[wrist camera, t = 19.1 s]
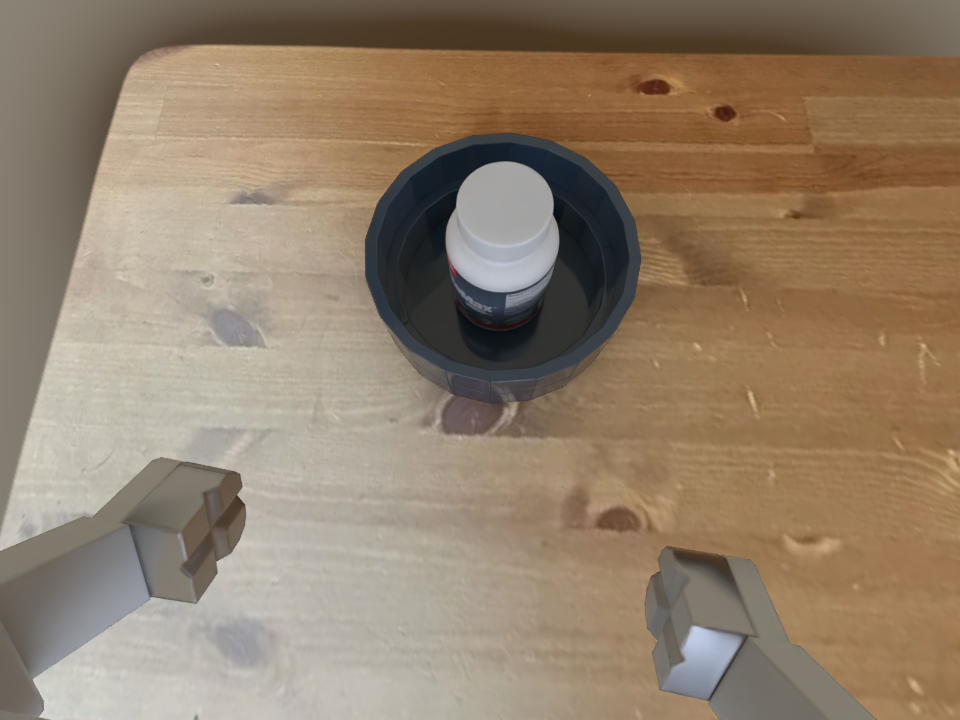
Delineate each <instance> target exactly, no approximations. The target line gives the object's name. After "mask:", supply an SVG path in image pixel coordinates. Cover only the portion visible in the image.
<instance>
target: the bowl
mask: <svg viewBox="0 0 960 720" xmlns="http://www.w3.org/2000/svg"><path fill="white" fill-rule="evenodd" d="M504 161H506V162H516V163H520V164H523V165H526V166H528V167H530V168H532V169H533V170H535V171H536V172H537V173H539V174H540V175H541V176H542V177H543V178H544V180H545V181H546V182H547V184H548V186H549V187H550V189H551V192H552V196H553V203H554V208H553V216H554V218H555V220H556V222H557V226H558V231H559V249H558V255H557V258H556V262H555V265H554V269H553V273H552V276H551V279H550V283H549V286H548V289H547V293H546V296H545V299H544V302H543V304H542V306H541V308H540V310H539V311H538V313H537V314H536V315H535V316H534V317H533V318H532V319H531V320H530V321H529V322H527V323H526V324H524V325H522V326H520V327H518V328H516V329H512V330H508V331H492V330H487V329H484V328H481V327H479V326H477V325H475V324H473V323H472V322H471V321H469V320H468V319H467V318H466V317H465V316H464V315H463V314H462V312H461V311H460V309H459V308H458V306H457V304H456V301H455V298H454V294H453V288H452V281H451V275H450V269H449V262H448V257H447V251H446V229H447V225H448V222H449V219H450V217H451V215H452V213H453V211H454V210H455V208H456V202H457V195H458V192H459V189H460V187H461V185H462V184H463V182H464V181H465V179H466V178H467V177H468V176H469V175H470V174H471V173H473V172H474V171H475V170H477V169H478V168H481V167H482V166H484V165H487V164H490V163H495V162H504ZM640 264H641V253H640V247H639V241H638V236H637V230H636V224H635V220H634V218H633V216H632V214H631V212H630V210H629V209H628V207H627V205H626V203H625V201H624V200H623V198H622V196H621V194H620V192H619V191H618V189H617V187H616V186H615V184H614V183H613V182H611V181H610V180H609V179H608V178H607V177H606V176H605V175H604V174H603V173H602V172H601V171H600V170H599V169H598V168H597V167H596V166H594V165H593V164H592V163H591V162H590V161H589V160H588V159H586V158H585V157H583V156H581V155H579V154H577V153H575V152H573V151H571V150H569V149H567V148H565V147H563V146H561V145H559V144H557V143H555V142H553V141H550V140H546V139H541V138H536V137H531V136H525V135H520V134H515V133H500V134H485V135H472V136H469V137H466V138H463V139H460V140H457V141H454V142H452V143H449V144H446V145H443V146H440V147H437V148H435V149H433V150H431V151H430V152H428V153H427V154H425V155H424V156H423V157H421V158H420V159H418V160H417V161H416V162H414V163H413V164H411V165H410V166H408V167H407V168H406V169H404V170H403V171H402V172H401V173H400V174H399V175H398V177H397V178H396V179H395V181H394V182H393V183H392V184H391V186H390V187H389V188H388V190H387V191H386V192H385V194H384V195H383V196H382V197H381V199H380V200H379V202H378V204H377V206H376V209H375V212H374V215H373V218H372V221H371V224H370V227H369V229H368V232H367V235H366V239H365V277H366V281H367V284H368V287H369V289H370V292H371V295H372V297H373V300H374V303H375V305H376V308H377V311H378V314H379V316H380V318H381V319H382V321H383V323H384V325H385V326H386V328H387V330H388V332H389V333H390V335H391V337H392V339H393V340H394V342H395V344H396V346H397V347H398V349H399V350H400V351H401V352H402V353H403V355H404V356H405V357H406V358H407V359H408V361H409V362H410V363H411V364H412V365H413V367H414V368H415V369H416V370H417V371H418V373H419V374H421V375H422V376H423V377H425V378H426V379H428V380H430V381H431V382H433V383H435V384H436V385H438V386H439V387H441V388H443V389H444V390H446V391H448V392H449V393H451V394H453V395H457V396H461V397H465V398H469V399H473V400H478V401H482V402H486V403H505V402H519V401H528V400H529V401H530V400H533V399H535V398H538V397H540V396H542V395H545V394H547V393H550V392H552V391H555V390H557V389H560V388H562V387H564V386H565V385H567V384H568V383H569V382H571V381H572V380H573V379H574V378H575V377H576V376H578V375H579V374H580V373H581V372H582V371H584V370H585V369H586V368H587V367H588V366H589V365H591V364H592V363H593V361H594V360H595V359H596V358H597V356H598V355H599V353H600V352H601V351H602V349H603V348H604V346H605V345H606V344H607V342H608V341H609V339H610V338H611V337H612V335H613V334H614V332H615V331H616V329H617V327H618V326H619V324H620V322H621V320H622V319H623V317H624V315H625V314H626V312H627V310H628V308H629V307H630V305H631V303H632V302H633V300H634V297H635V292H636V286H637V281H638V275H639V270H640Z"/></svg>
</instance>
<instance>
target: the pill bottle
mask: <svg viewBox="0 0 960 720" xmlns="http://www.w3.org/2000/svg"><path fill="white" fill-rule="evenodd" d="M553 208H554V203H553V196H552V192H551V189H550V187H549V186H548V184H547V182H546V181H545V180H544V178H543V177H542V176H541V175H540V174H539V173H537V172H536V171H535V170H533V169H532V168H530V167H528V166H526V165H523V164H520V163H516V162H506V161H504V162H495V163H490V164H487V165H484V166H482V167H481V168H478V169H477V170H475V171H474V172H473V173H471V174H470V175H469V176H468V177H467V178H466V179H465V181H464V182H463V184H462V185H461V187H460V189H459V192H458V195H457V202H456V208H455V210H454V211H453V213H452V215H451V217H450V219H449V222H448V225H447V229H446V251H447V257H448V262H449V269H450V275H451V281H452V288H453V294H454V298H455V301H456V304H457V306H458V308H459V309H460V311H461V312H462V314H463V315H464V316H465V317H466V318H467V319H468V320H469V321H471V322H472V323H473V324H475V325H477V326H479V327H481V328H484V329H487V330H492V331H508V330H512V329H516V328H518V327H520V326H522V325H524V324H526V323H527V322H529V321H530V320H531V319H532V318H533V317H534V316H535V315H536V314H537V313H538V311H539V310H540V308H541V306H542V304H543V302H544V299H545V296H546V293H547V289H548V286H549V283H550V279H551V276H552V273H553V269H554V265H555V262H556V258H557V255H558V249H559V231H558V226H557V222H556V220H555V218H554V216H553Z"/></svg>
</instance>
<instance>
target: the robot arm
mask: <svg viewBox="0 0 960 720" xmlns="http://www.w3.org/2000/svg"><path fill="white" fill-rule="evenodd" d="M242 487H243V486H242V481H241V476H240V474H239V473H237V472H235V471H230V470H226V469H221V468H216V467H211V466H206V465H201V464H196V463H191V462H183V461H178V460H173V459H168V458H163V457H161V458H158V459H155V460H153V461H151V462H150V463H149V464H148V465H147V466H146V467H145V468H144V469H143V470H142V471H141V472H140V473H139V474H138V475H136V476H135V477H134V478H133V479H132V480H131V481H130V482H129V483H128V484H127V485H126V486H125V487H124V488H123V489H122V490H120V491H119V492H118V493H117V494H116V495H115V496H114V497H113V498H112V499H111V500H110V501H109V502H108V503H107V504H106V505H104V506H103V507H102V508H101V509H100V510H99V511H98V512H97V513H96V514H95V515H94V516H93V517H92V518H91V517H84V516H83V517H81V518H78V519H76V520H74V521H71V522H69V523H66V524H64V525H62V526H59V527H57V528H54V529H52V530H50V531H47V532H45V533H42V534H40V535H38V536H35V537H33V538H30V539H28V540H26V541H23V542H21V543H18V544H16V545H14V546H11V547H9V548H7V549H4V550H2V551H0V720H49V719H44V718H39V716H40V715H41V713H42V712H43V711H44V701H43V699H42V697H41V695H40V693H39V691H38V689H37V688H36V686H35V684H34V682H33V680H32V679H34V678H35V677H37V676H38V675H40V674H41V673H43V672H44V671H45V670H47V669H48V668H50V667H51V666H53V665H54V664H56V663H57V662H59V661H60V660H62V659H63V658H65V657H66V656H68V655H69V654H71V653H72V652H74V651H75V650H76V649H78V648H79V647H81V646H82V645H84V644H85V643H87V642H88V641H90V640H91V639H93V638H94V637H96V636H97V635H99V634H100V633H102V632H103V631H105V630H106V629H107V628H109V627H110V626H112V625H113V624H115V623H116V622H118V621H119V620H121V619H122V618H124V617H125V616H127V615H128V614H130V613H131V612H133V611H134V610H136V609H137V608H138V607H140V606H141V605H143V604H144V603H146V602H147V601H149V600H150V597H156V598H162V599H169V600H175V601H181V602H188V603H194V604H197V602H198V601H199V600H200V598H201V597H202V595H203V594H204V592H205V591H206V589H207V588H208V586H209V585H210V583H211V582H212V581H213V579H214V578H215V576H216V575H217V573H218V571H217V561H218V560H220V559H222V558H224V557H225V556H227V555H229V554H231V553H232V551H233V549H234V548H235V546H236V545H237V543H238V542H239V540H240V537H241V535H242V532H243V529H244V527H245V520H246V508H245V504H244V503H243V502H242V500H241V499H240V498H239V497H238V496H237V494H238V493H239V491H240V490H241V489H242ZM658 563H659V567H660V571H659V572H657V573H656V574H654V575H652V576H651V578H650V581H649V583H648V586H647V589H646V597H645V616H646V622H647V628H648V630H649V631H650V632H651V634H652V635H653V636H654V637H655V638H656V640H657V643H656V645H655V647H654V649H653V651H652V655H653V660H654V665H655V671H656V676H657V681H658V686H659V690H661V691H665V692H670V693H675V694H679V695H684V696H689V697H693V698H698V699H703V700H707V701H709V703H708V704H709V705H710V707H711V708H712V710H713V711H714V713H715V714H716V715H717V717H718V718H719V720H877V719H876V718H875V717H874V716H873V715H871V714H870V713H869V712H868V711H867V710H866V709H865V708H864V707H863V706H862V705H861V704H860V703H859V702H858V701H857V700H856V699H855V698H854V697H853V696H852V695H851V694H850V693H848V692H847V691H846V690H845V689H844V688H843V687H842V686H841V685H840V684H839V683H838V682H837V681H836V680H835V679H834V678H833V677H832V676H831V675H830V674H829V673H828V672H827V671H825V670H824V669H823V668H822V667H821V666H820V665H819V664H818V663H817V662H816V661H815V660H814V659H813V658H812V657H811V656H810V655H809V654H808V653H807V652H806V651H805V650H804V649H803V648H801V647H800V646H799V645H794V644H790V642H789V639H788V637H787V635H786V633H785V630H784V628H783V626H782V624H781V621H780V619H779V617H778V615H777V612H776V610H775V608H774V606H773V603H772V601H771V599H770V597H769V594H768V592H767V590H766V588H765V585H764V583H763V581H762V579H761V577H760V574H759V572H758V570H757V568H756V565H755V564H754V563H753V562H752V561H751V560H750V559H744V558H738V557H731V556H725V555H718V554H713V553H707V552H701V551H695V550H689V549H682V548H676V547H670V546H666V547H665V548H664V549H663V550H662V551H661V554H660V556H659V558H658Z"/></svg>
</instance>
